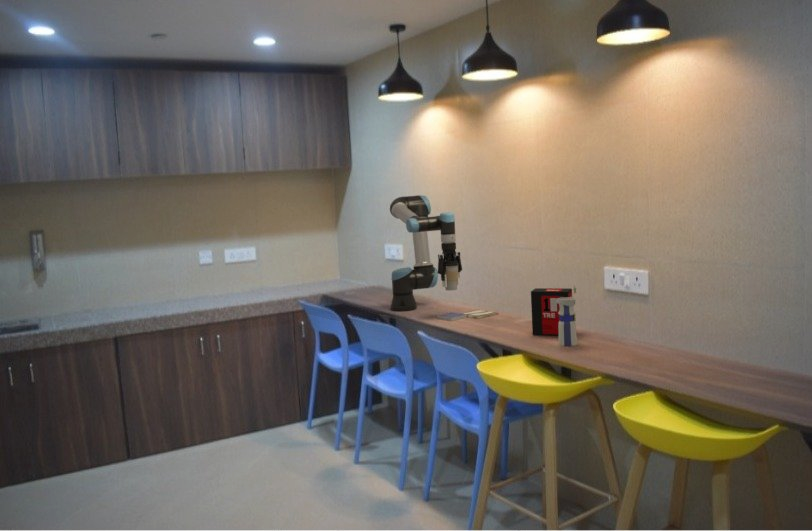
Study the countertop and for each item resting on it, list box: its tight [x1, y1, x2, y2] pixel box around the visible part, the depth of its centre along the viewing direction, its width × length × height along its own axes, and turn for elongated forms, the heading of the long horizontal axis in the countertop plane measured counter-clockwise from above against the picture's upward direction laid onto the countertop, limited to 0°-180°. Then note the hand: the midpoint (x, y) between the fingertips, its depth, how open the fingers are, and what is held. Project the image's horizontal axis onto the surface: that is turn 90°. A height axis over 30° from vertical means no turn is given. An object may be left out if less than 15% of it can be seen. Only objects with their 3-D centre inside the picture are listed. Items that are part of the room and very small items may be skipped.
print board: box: [460, 309, 499, 320], centre depth 366 cm, size 15×15×1 cm
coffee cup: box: [443, 260, 459, 291], centre depth 360 cm, size 9×9×15 cm
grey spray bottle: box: [557, 285, 578, 347], centre depth 290 cm, size 8×8×25 cm
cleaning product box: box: [530, 287, 573, 337], centre depth 311 cm, size 16×9×20 cm, turn 66°
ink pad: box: [436, 312, 468, 322], centre depth 363 cm, size 11×11×2 cm
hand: (450, 285), depth 361 cm, fingers closed on coffee cup, 8 cm apart
